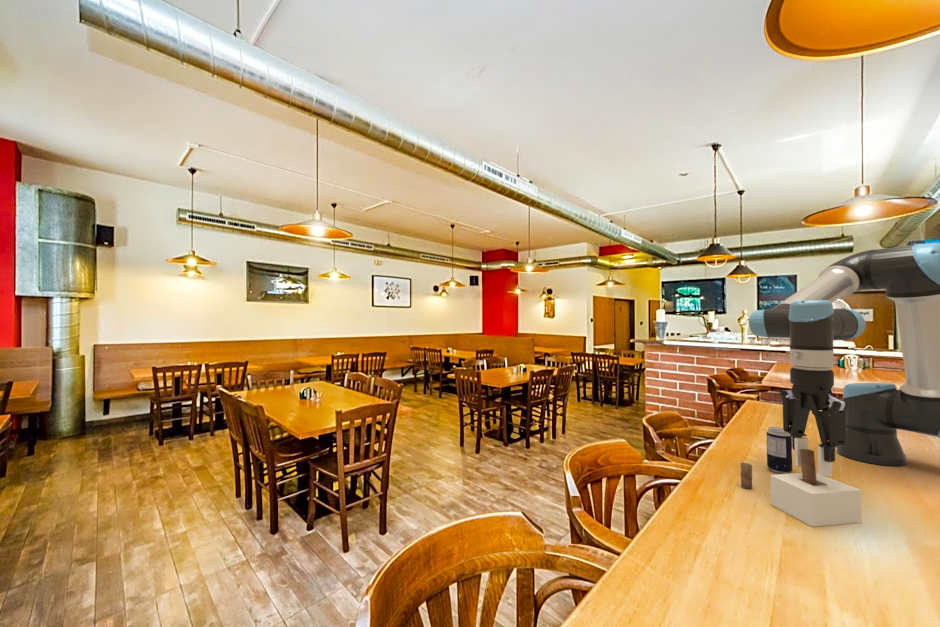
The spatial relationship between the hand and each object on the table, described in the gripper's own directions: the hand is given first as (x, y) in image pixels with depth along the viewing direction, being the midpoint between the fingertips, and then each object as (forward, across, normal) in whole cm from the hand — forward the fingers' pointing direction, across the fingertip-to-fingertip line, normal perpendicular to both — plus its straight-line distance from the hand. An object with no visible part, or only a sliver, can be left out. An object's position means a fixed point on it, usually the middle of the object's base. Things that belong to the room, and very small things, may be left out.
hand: (813, 470), depth 89 cm
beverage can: (+10, -22, +14) cm, 28 cm away
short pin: (+10, -14, -4) cm, 18 cm away
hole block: (+10, 0, 0) cm, 10 cm away
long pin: (+10, 0, 0) cm, 10 cm away
